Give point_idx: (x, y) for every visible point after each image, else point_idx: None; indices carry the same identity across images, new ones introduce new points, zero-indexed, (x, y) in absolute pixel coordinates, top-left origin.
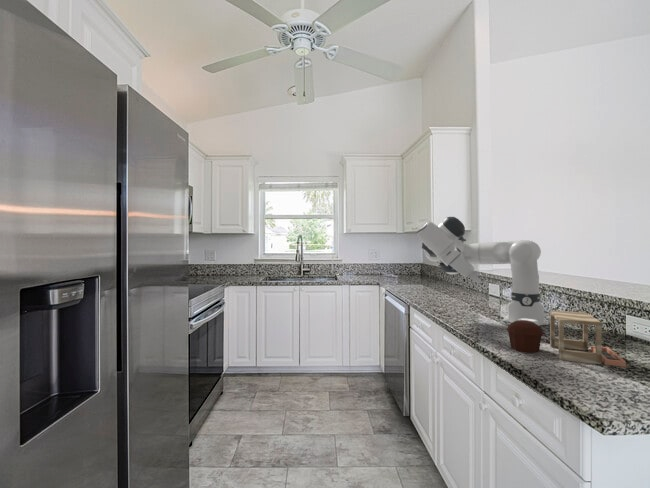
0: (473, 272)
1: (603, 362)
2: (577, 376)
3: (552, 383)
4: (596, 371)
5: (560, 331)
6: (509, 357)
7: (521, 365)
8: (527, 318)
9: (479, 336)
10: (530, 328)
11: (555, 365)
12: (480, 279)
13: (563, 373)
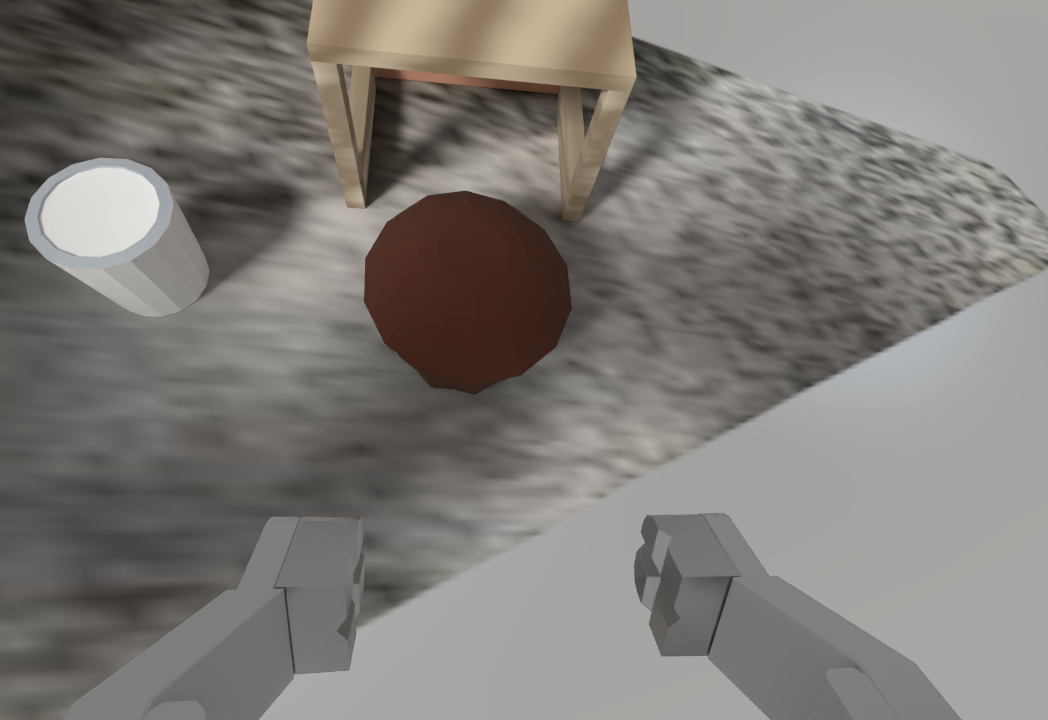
0: (894, 716)
1: (546, 92)
2: (763, 215)
3: (886, 305)
4: (670, 146)
5: (614, 127)
6: (653, 416)
7: (746, 378)
8: (42, 204)
9: (235, 576)
10: (548, 248)
11: (672, 253)
12: (707, 529)
13: (757, 249)
